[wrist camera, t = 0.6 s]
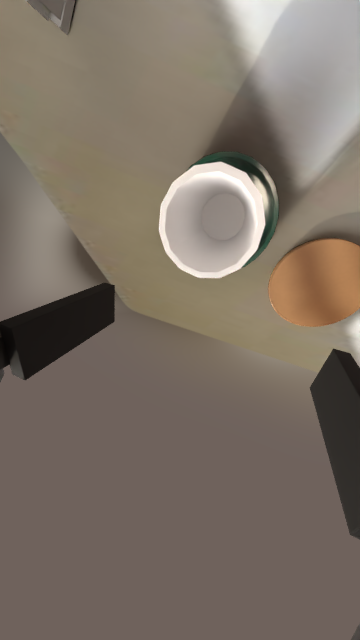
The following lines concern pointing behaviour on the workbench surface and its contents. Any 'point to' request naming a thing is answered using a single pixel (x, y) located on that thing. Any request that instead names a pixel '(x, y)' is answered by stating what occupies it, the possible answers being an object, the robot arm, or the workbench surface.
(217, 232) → the foam cup
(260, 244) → the pot
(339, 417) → the robot arm
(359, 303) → the pot holder
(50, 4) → the tall grey upright pillar
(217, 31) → the workbench surface
